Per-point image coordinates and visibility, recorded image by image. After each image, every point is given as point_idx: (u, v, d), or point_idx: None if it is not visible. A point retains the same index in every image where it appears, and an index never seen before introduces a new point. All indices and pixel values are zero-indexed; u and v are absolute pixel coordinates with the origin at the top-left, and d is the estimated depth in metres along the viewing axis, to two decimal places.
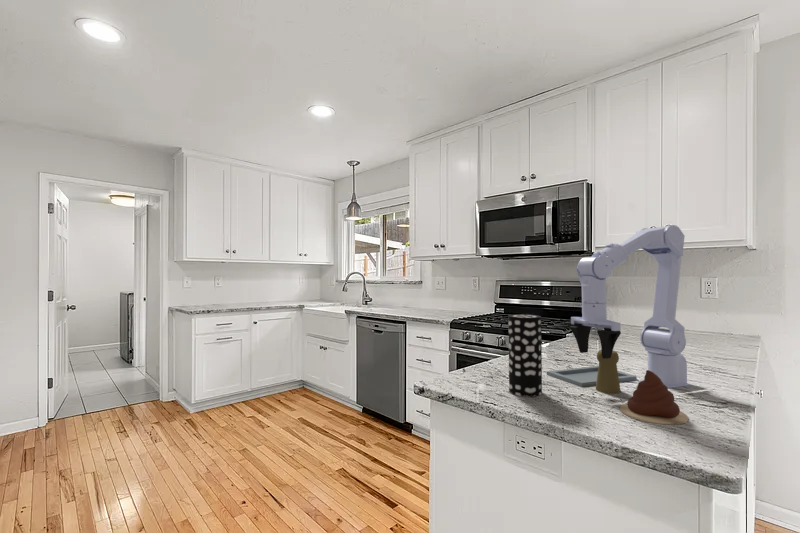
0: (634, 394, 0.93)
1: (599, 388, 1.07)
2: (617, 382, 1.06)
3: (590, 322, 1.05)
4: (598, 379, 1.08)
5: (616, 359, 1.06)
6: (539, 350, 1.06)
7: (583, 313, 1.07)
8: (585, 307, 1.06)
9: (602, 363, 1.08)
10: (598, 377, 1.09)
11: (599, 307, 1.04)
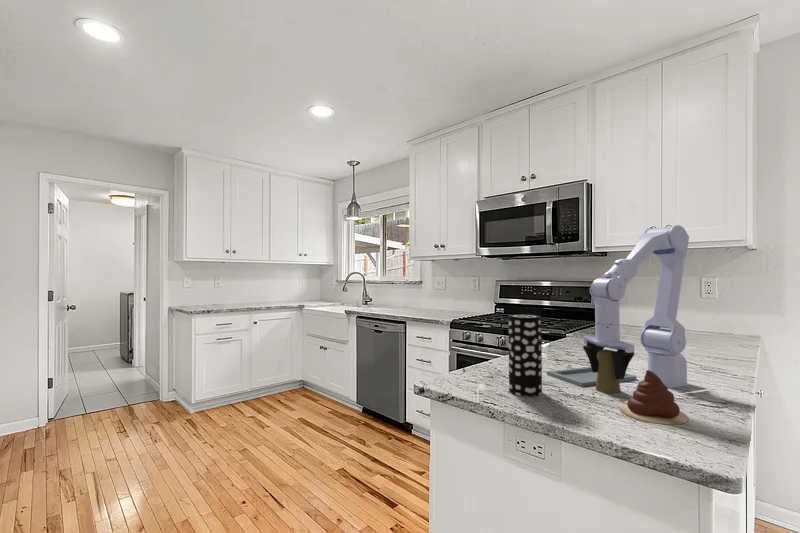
0: (634, 394, 0.93)
1: (599, 388, 1.07)
2: (617, 382, 1.06)
3: (604, 343, 1.06)
4: (598, 379, 1.08)
5: None
6: (539, 350, 1.06)
7: (596, 334, 1.08)
8: (599, 328, 1.08)
9: (602, 363, 1.08)
10: (598, 377, 1.09)
11: (612, 329, 1.06)
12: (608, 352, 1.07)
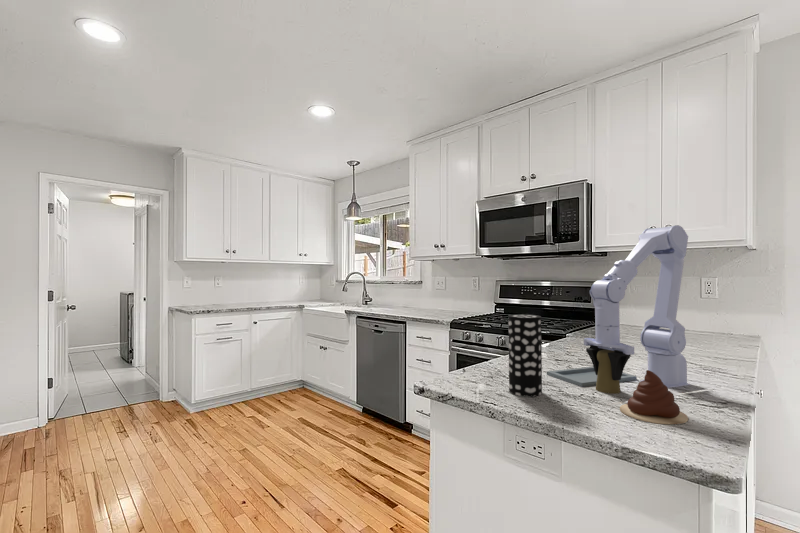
0: (634, 394, 0.93)
1: (599, 388, 1.07)
2: (617, 382, 1.06)
3: (604, 345, 1.06)
4: (598, 379, 1.08)
5: None
6: (539, 350, 1.06)
7: (596, 335, 1.08)
8: (599, 330, 1.08)
9: (602, 363, 1.08)
10: (598, 377, 1.09)
11: (612, 330, 1.06)
12: (608, 352, 1.07)
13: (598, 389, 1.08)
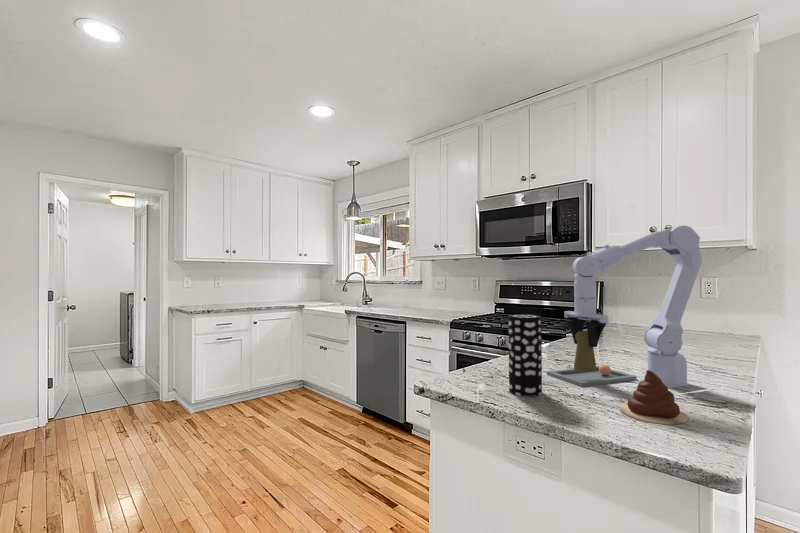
0: (634, 394, 0.93)
1: (578, 366, 1.17)
2: (593, 360, 1.17)
3: (581, 315, 1.17)
4: (576, 357, 1.18)
5: None
6: (539, 350, 1.06)
7: (575, 307, 1.19)
8: (577, 302, 1.18)
9: (580, 342, 1.18)
10: (576, 355, 1.18)
11: (589, 302, 1.16)
12: (586, 332, 1.17)
13: (576, 367, 1.18)
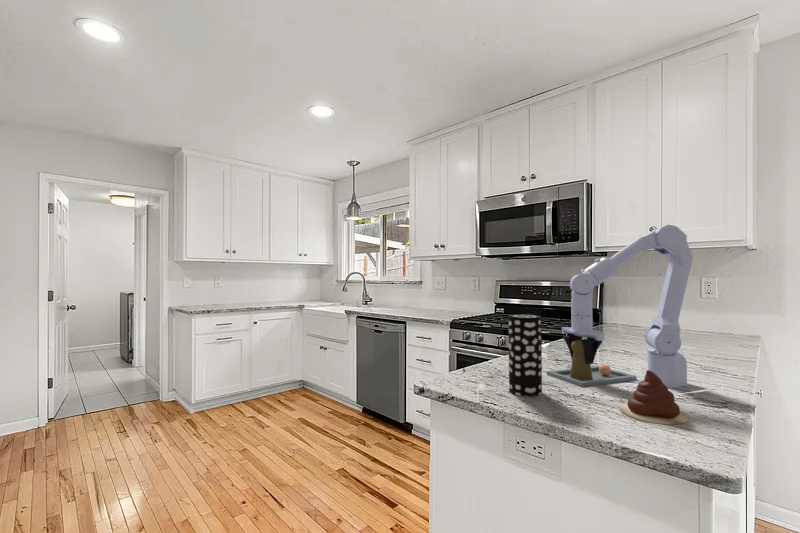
0: (634, 394, 0.93)
1: (574, 375, 1.19)
2: (589, 368, 1.18)
3: (578, 332, 1.19)
4: (572, 366, 1.20)
5: None
6: (539, 350, 1.06)
7: (572, 324, 1.21)
8: (574, 319, 1.20)
9: (576, 352, 1.20)
10: (572, 364, 1.20)
11: (586, 319, 1.18)
12: (581, 342, 1.19)
13: (573, 375, 1.20)
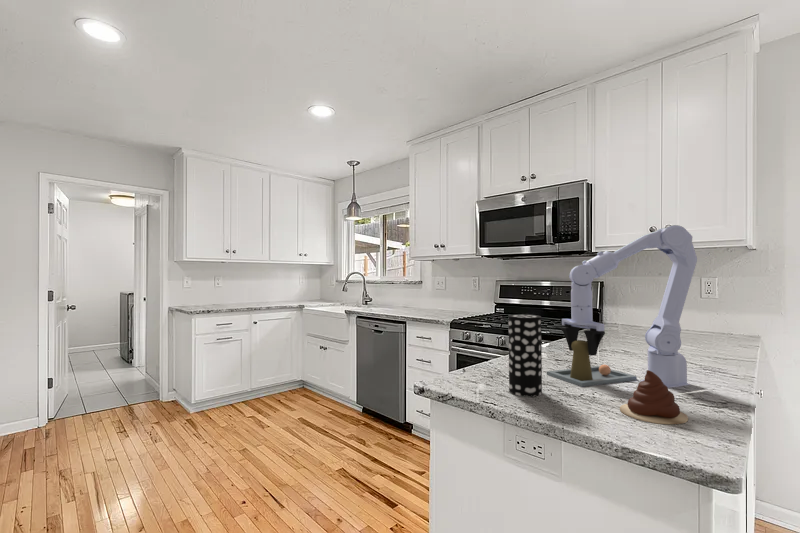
0: (634, 394, 0.92)
1: (574, 375, 1.19)
2: (589, 369, 1.18)
3: (578, 323, 1.19)
4: (573, 367, 1.20)
5: None
6: (539, 350, 1.06)
7: (572, 315, 1.21)
8: (574, 310, 1.20)
9: (576, 352, 1.19)
10: (572, 364, 1.20)
11: (586, 310, 1.18)
12: (582, 342, 1.19)
13: (573, 376, 1.20)
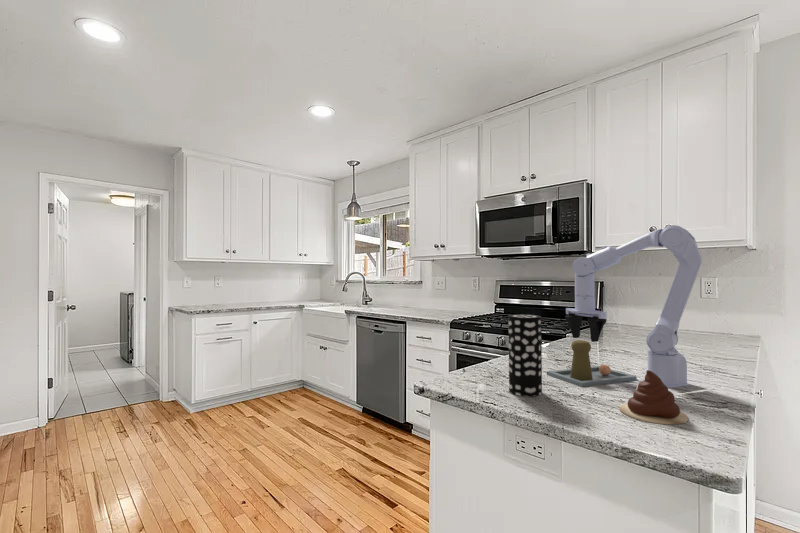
0: (634, 394, 0.92)
1: (574, 375, 1.19)
2: (589, 369, 1.18)
3: (581, 312, 1.27)
4: (573, 367, 1.20)
5: (588, 348, 1.18)
6: (539, 350, 1.06)
7: (576, 304, 1.29)
8: (577, 299, 1.28)
9: (576, 352, 1.19)
10: (572, 364, 1.20)
11: (589, 299, 1.26)
12: (582, 342, 1.19)
13: (573, 376, 1.20)
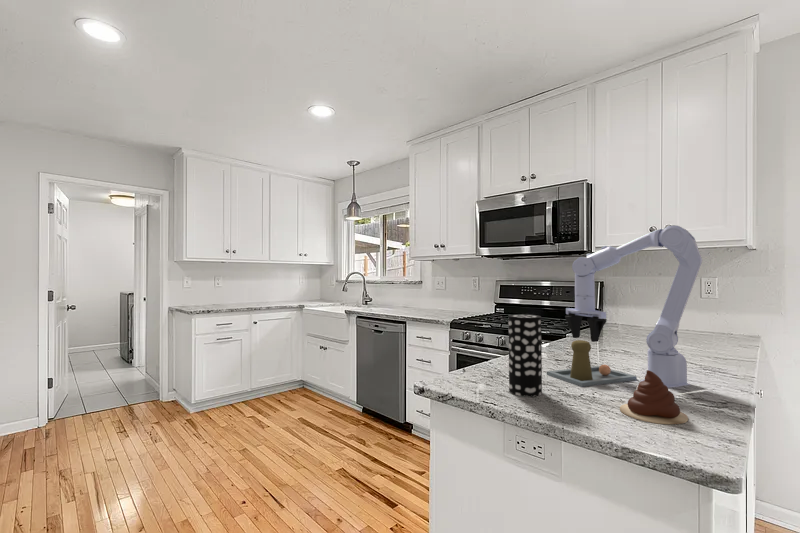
0: (634, 394, 0.92)
1: (574, 375, 1.19)
2: (589, 369, 1.18)
3: (581, 312, 1.27)
4: (573, 367, 1.20)
5: (588, 348, 1.18)
6: (539, 350, 1.06)
7: (576, 304, 1.29)
8: (577, 299, 1.28)
9: (576, 352, 1.19)
10: (572, 364, 1.20)
11: (589, 299, 1.26)
12: (582, 342, 1.19)
13: (573, 376, 1.20)
